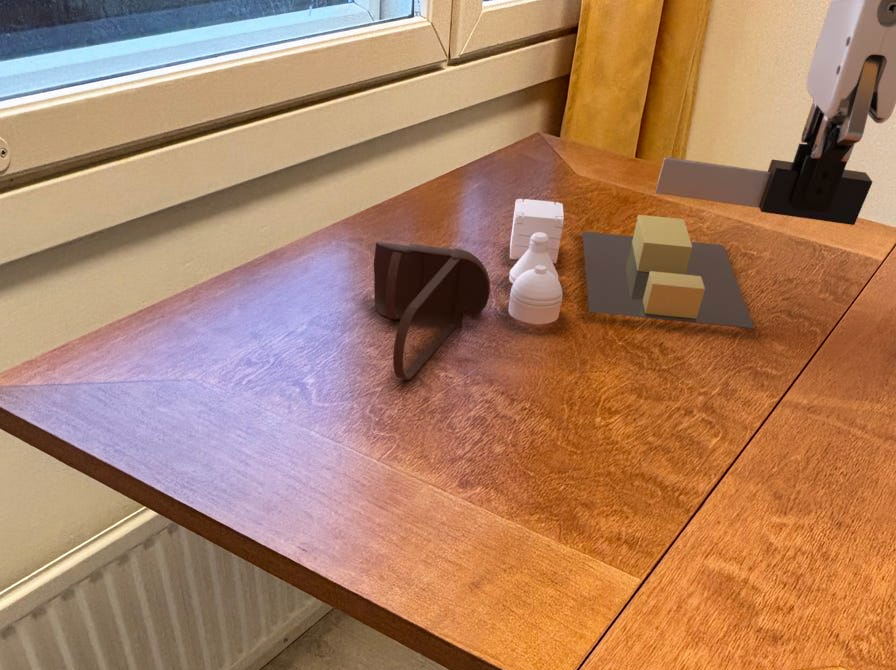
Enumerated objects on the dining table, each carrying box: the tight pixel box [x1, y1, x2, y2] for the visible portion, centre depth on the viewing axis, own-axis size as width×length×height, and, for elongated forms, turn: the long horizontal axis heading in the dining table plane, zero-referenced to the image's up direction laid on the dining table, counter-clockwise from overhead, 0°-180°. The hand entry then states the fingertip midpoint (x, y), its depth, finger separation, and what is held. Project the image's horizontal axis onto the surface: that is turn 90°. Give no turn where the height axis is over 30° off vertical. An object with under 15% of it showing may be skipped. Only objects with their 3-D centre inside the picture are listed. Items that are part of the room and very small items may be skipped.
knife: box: [654, 156, 873, 226], centre depth 76 cm, size 17×2×4 cm, turn 83°
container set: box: [508, 198, 565, 325], centre depth 89 cm, size 20×5×6 cm, turn 175°
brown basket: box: [373, 241, 491, 381], centre depth 79 cm, size 18×12×7 cm, turn 170°
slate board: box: [582, 230, 755, 330], centre depth 94 cm, size 16×21×1 cm
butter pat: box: [643, 271, 705, 319], centre depth 86 cm, size 5×3×3 cm, turn 84°
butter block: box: [632, 214, 692, 275], centre depth 95 cm, size 5×8×3 cm, turn 174°
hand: (805, 201), depth 76 cm, fingers closed on knife, 2 cm apart
